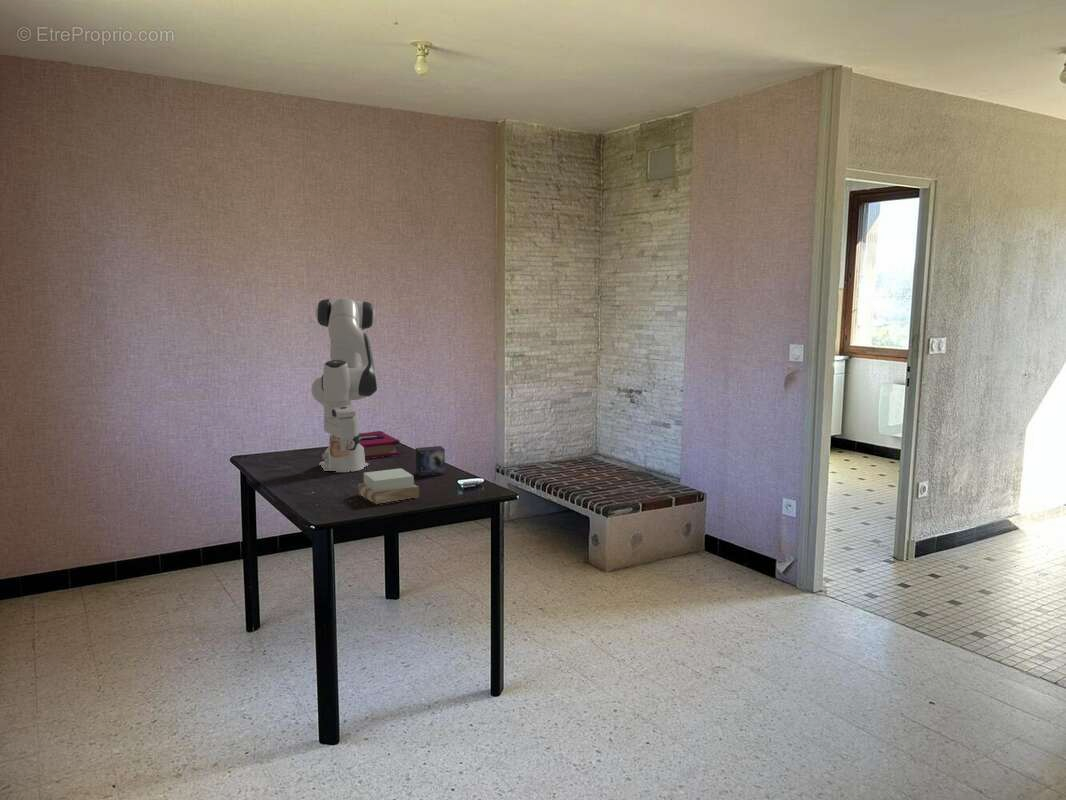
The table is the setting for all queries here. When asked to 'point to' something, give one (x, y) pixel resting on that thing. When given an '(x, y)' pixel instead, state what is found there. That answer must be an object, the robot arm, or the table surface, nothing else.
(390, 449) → the book
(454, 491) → the table surface
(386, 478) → the sage block
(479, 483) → the table surface
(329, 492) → the table surface
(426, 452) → the small box
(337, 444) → the terracotta cube
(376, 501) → the birch slab
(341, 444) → the robot arm
